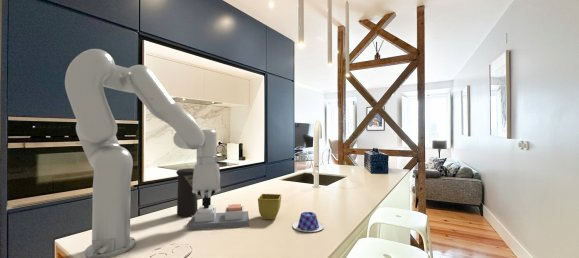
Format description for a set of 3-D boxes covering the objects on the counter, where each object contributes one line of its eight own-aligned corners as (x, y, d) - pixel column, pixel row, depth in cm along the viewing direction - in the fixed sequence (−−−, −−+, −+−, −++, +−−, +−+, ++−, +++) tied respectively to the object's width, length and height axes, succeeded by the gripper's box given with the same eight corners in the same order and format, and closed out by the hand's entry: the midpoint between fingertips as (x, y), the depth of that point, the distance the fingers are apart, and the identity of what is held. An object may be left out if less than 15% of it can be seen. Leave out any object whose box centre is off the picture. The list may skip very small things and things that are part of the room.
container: (193, 217, 104) (193, 170, 105) (172, 217, 105) (172, 169, 105) (201, 211, 113) (201, 167, 114) (181, 211, 113) (182, 167, 114)
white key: (211, 216, 96) (212, 209, 96) (198, 217, 95) (198, 209, 95) (213, 212, 101) (213, 205, 101) (200, 213, 100) (200, 206, 100)
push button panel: (248, 226, 95) (249, 212, 95) (188, 230, 91) (188, 216, 91) (248, 215, 107) (248, 204, 107) (194, 219, 103) (194, 207, 103)
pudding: (324, 234, 88) (324, 219, 88) (290, 232, 90) (290, 218, 90) (324, 222, 100) (324, 209, 100) (294, 221, 102) (294, 208, 102)
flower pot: (281, 214, 109) (281, 194, 109) (278, 221, 100) (278, 199, 100) (261, 214, 110) (261, 193, 110) (257, 221, 101) (257, 198, 101)
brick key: (240, 215, 98) (241, 207, 98) (227, 216, 97) (227, 208, 97) (240, 211, 103) (241, 204, 103) (228, 212, 102) (228, 204, 102)
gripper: (226, 159, 104) (226, 203, 103) (188, 160, 101) (188, 205, 100) (225, 161, 96) (225, 209, 96) (184, 162, 93) (184, 211, 93)
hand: (206, 207), depth 98 cm, fingers closed
